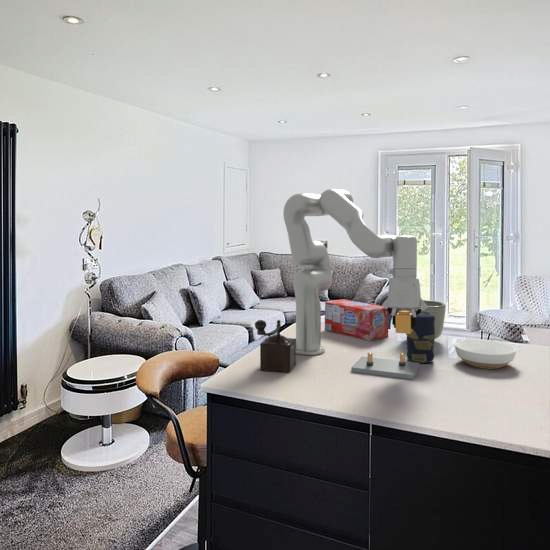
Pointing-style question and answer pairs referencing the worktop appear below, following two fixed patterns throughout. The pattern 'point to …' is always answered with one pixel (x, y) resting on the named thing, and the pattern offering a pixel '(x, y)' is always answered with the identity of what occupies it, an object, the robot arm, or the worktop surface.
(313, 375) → the worktop surface
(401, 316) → the yellow cube with sphere
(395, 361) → the plate
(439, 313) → the planter
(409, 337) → the canister
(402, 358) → the copper post
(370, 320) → the box
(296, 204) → the robot arm
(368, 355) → the copper post
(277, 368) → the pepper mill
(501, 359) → the bowl
